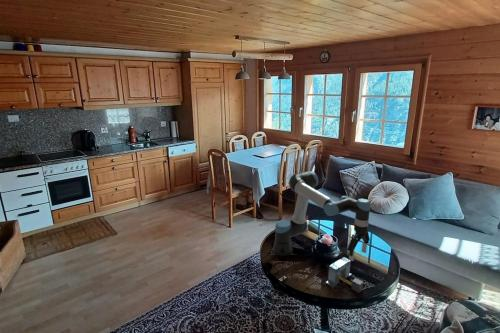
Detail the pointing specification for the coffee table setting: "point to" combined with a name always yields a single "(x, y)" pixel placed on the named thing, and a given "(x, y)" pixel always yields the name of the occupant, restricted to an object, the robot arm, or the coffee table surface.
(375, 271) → the coffee table surface
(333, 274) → the housing
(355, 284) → the yellow handled grey mallet
